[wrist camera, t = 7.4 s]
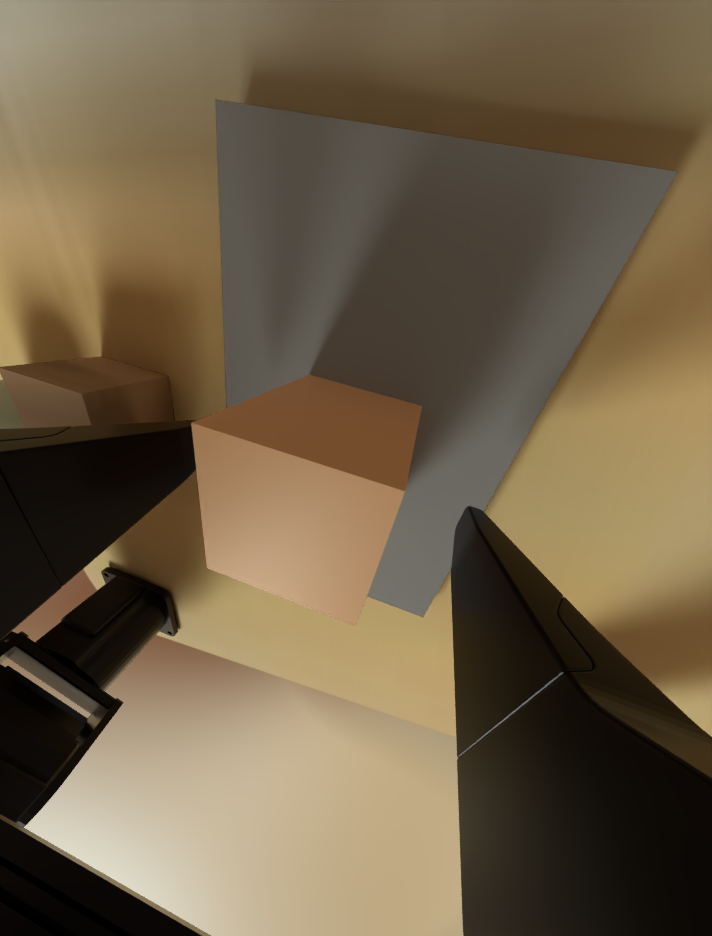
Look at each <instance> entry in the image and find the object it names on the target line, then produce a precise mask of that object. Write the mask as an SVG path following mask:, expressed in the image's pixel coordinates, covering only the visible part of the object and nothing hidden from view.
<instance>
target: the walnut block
mask: <svg viewBox="0 0 712 936" xmlns="http://www.w3.org/2000/svg"><path fill="white" fill-rule="evenodd" d="M0 373H1V375H2V377H3V380H4V382H5V384H6V386H7V389H8V391H9V393H10V395H11V398H12V400H13V402H14V404H15V407H16V409H17V411H18V413H19V416H20V418H21V420H22V422H23V425H24V427H25V428H40V427H64V426H71V427H73V426H85V425H106V424H127V423H148V422H169V421H175V418H174V411H173V404H172V397H171V390H170V384H169V377H168V376H166V375H163V374H159V373H156V372H152V371H149V370H146V369H142V368H139V367H135V366H132V365H129V364H125V363H122V362H118V361H115V360H112V359H108V358H105V357H92V358H83V359H73V360H63V361H54V362H44V363H34V364H25V365H15V366H5V367H0Z"/></svg>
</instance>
